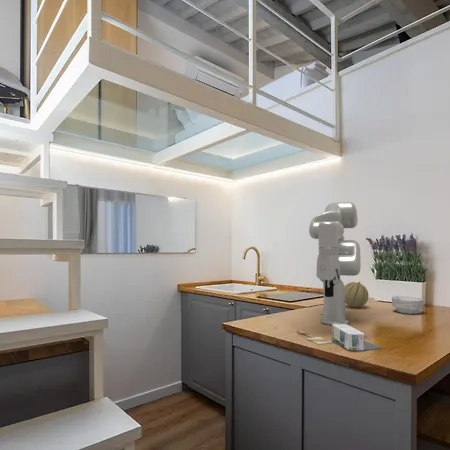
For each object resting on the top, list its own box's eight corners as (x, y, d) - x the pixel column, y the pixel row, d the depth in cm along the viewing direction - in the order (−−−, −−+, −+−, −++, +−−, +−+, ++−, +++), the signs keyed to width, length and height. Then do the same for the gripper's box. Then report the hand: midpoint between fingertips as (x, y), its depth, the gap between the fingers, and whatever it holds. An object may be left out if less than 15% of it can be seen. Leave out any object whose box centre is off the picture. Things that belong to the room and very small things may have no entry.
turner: (292, 333, 142) (292, 331, 142) (304, 331, 144) (304, 329, 144) (318, 344, 125) (318, 342, 125) (332, 343, 127) (332, 341, 127)
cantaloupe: (337, 305, 206) (337, 280, 207) (360, 304, 208) (360, 280, 209) (348, 310, 191) (348, 283, 192) (373, 309, 193) (373, 282, 194)
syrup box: (331, 323, 132) (348, 333, 117) (346, 323, 132) (364, 333, 118) (331, 338, 132) (348, 350, 117) (346, 338, 132) (364, 350, 118)
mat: (330, 341, 129) (330, 341, 129) (356, 338, 133) (356, 338, 133) (355, 352, 117) (355, 351, 117) (382, 348, 121) (382, 347, 121)
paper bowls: (430, 315, 177) (429, 299, 178) (400, 315, 177) (400, 299, 178) (414, 309, 192) (414, 295, 193) (387, 309, 193) (386, 295, 193)
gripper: (309, 251, 146) (310, 294, 146) (332, 253, 132) (333, 300, 132) (324, 250, 149) (325, 292, 149) (348, 252, 135) (349, 299, 135)
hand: (329, 296), depth 141 cm, fingers closed
